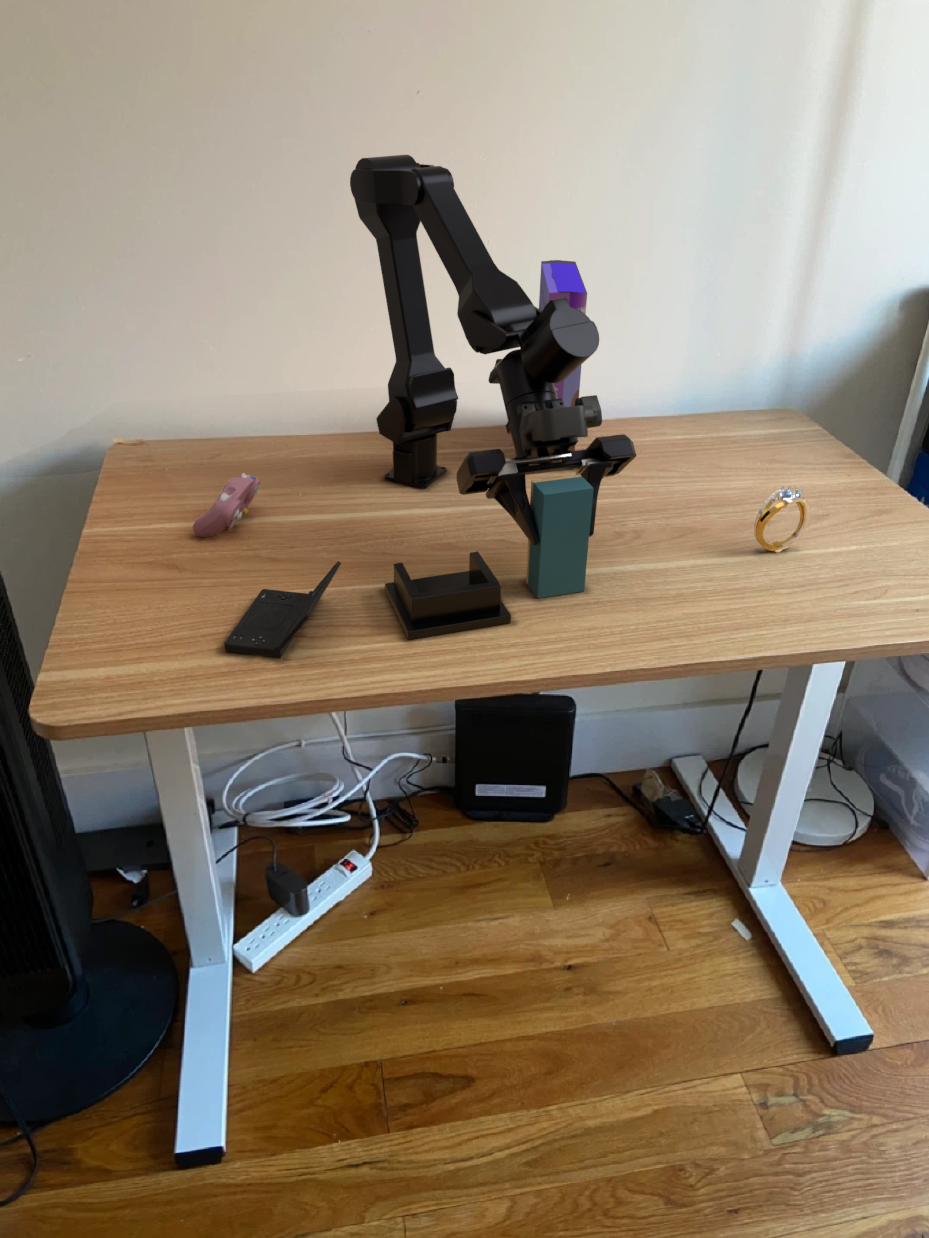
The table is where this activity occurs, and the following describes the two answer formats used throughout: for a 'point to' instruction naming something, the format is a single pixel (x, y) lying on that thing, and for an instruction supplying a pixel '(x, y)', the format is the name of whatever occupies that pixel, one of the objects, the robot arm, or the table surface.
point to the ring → (766, 515)
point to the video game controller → (228, 506)
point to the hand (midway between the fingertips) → (563, 539)
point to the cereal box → (568, 283)
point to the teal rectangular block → (559, 535)
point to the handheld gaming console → (275, 620)
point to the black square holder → (447, 600)
